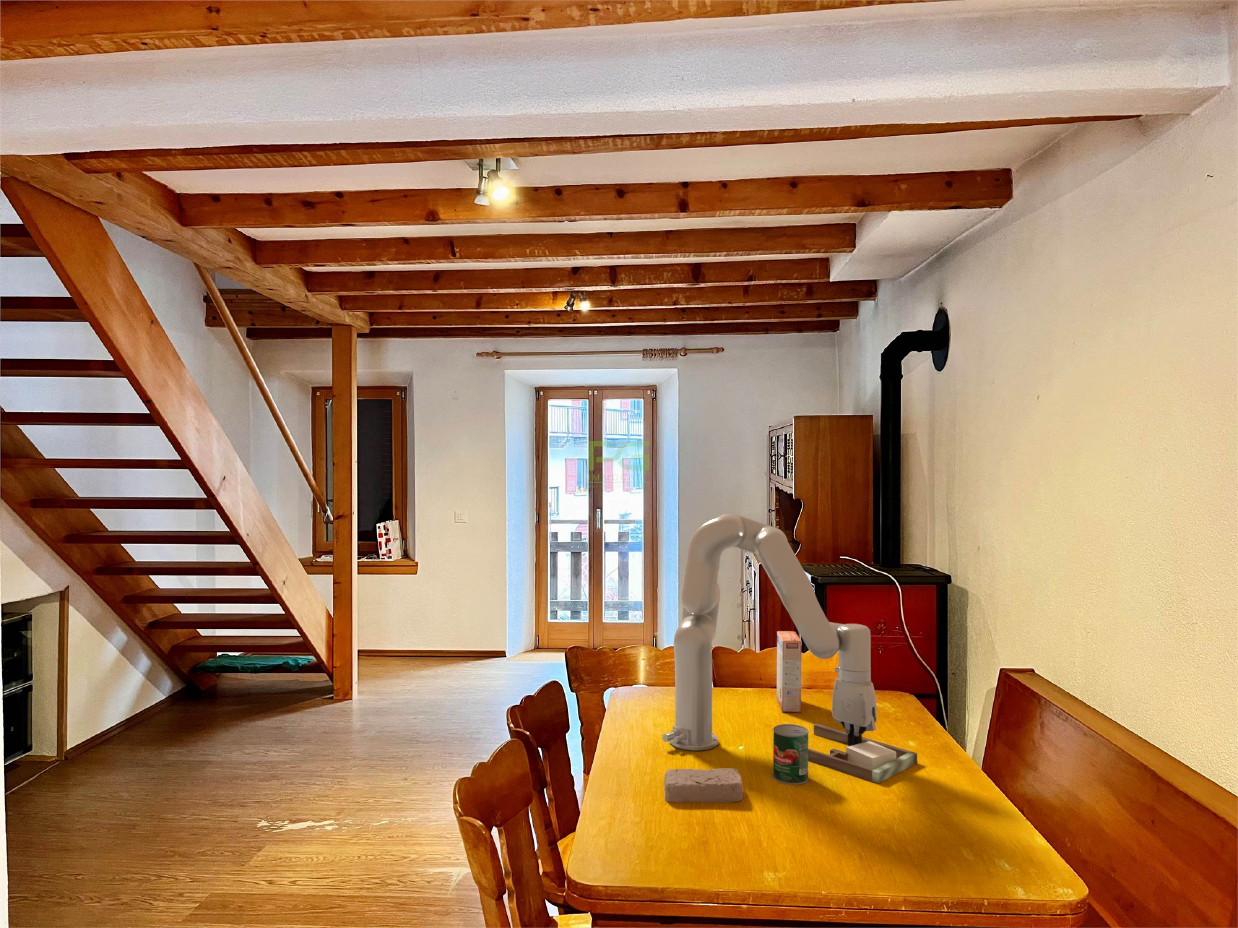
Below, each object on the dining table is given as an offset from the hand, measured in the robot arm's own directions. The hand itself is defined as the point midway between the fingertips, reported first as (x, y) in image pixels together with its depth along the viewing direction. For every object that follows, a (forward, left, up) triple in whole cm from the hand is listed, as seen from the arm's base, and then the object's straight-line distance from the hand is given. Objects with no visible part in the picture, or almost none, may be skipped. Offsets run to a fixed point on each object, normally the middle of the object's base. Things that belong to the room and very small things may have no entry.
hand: (854, 749), depth 187 cm
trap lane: (-2, +1, -1) cm, 3 cm away
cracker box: (+21, +34, -2) cm, 40 cm away
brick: (-45, +10, -2) cm, 46 cm away
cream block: (-2, -6, -2) cm, 6 cm away
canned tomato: (-23, +2, -2) cm, 23 cm away
